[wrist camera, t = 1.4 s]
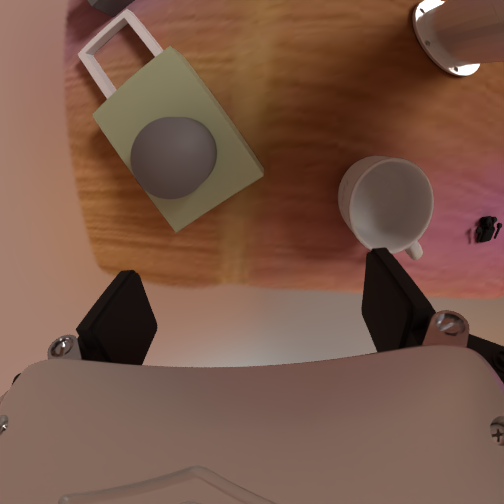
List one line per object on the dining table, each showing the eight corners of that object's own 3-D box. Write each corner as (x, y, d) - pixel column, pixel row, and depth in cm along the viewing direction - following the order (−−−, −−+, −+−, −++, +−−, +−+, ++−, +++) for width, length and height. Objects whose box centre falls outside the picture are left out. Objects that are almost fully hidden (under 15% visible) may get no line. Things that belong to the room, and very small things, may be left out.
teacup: (317, 171, 33) (332, 185, 26) (389, 137, 30) (420, 143, 23) (357, 259, 38) (375, 290, 31) (419, 227, 35) (447, 251, 28)
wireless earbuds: (472, 246, 35) (481, 223, 31) (465, 236, 37) (474, 212, 33) (497, 241, 34) (507, 219, 31) (490, 231, 36) (499, 209, 32)
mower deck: (142, 6, 23) (111, -17, 15) (263, 168, 33) (263, 183, 25) (78, 63, 26) (38, 57, 18) (186, 218, 36) (165, 247, 28)
